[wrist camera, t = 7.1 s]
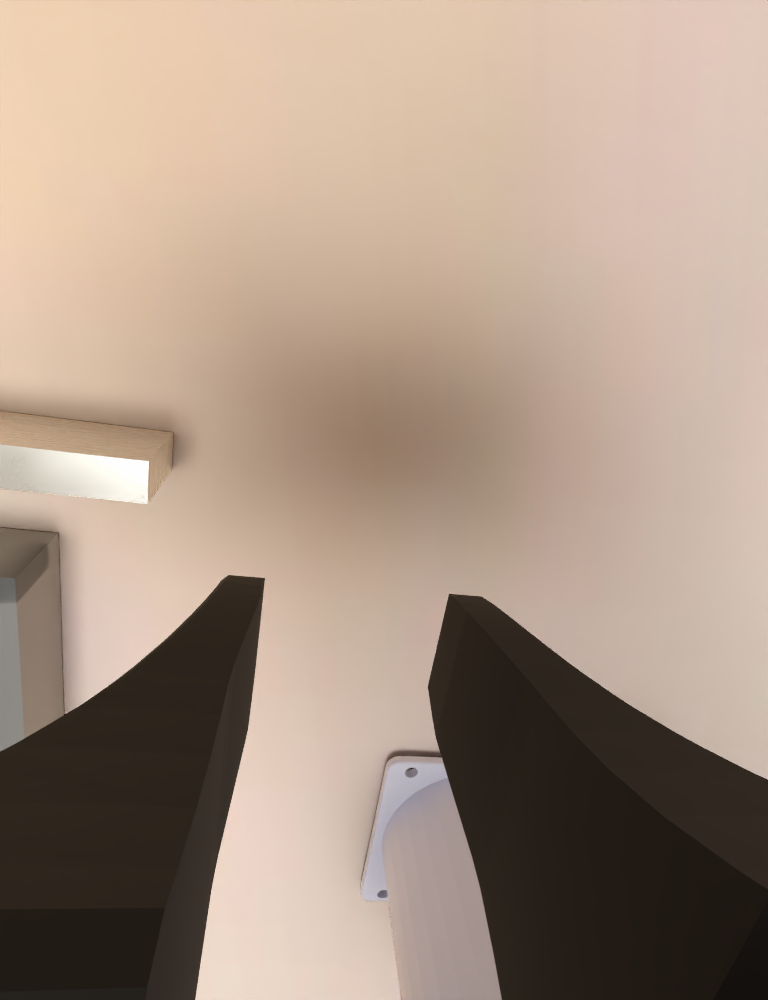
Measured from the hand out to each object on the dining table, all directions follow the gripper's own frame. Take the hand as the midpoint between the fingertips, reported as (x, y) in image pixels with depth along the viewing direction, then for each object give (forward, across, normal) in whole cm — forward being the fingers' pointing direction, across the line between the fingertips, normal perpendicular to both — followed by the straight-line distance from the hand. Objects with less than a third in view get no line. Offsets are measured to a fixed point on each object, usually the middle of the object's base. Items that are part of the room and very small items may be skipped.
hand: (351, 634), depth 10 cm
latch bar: (+9, +8, 0) cm, 12 cm away
